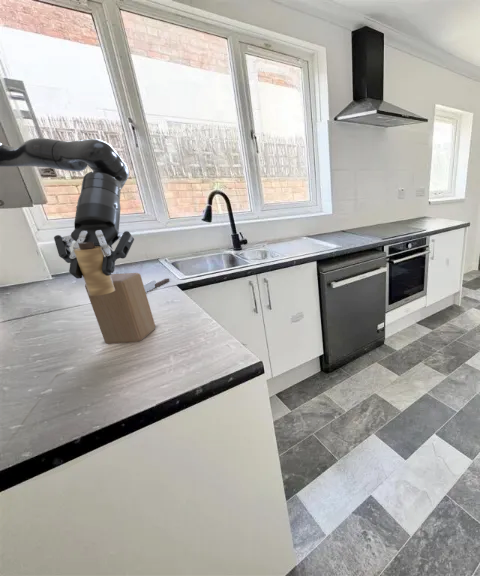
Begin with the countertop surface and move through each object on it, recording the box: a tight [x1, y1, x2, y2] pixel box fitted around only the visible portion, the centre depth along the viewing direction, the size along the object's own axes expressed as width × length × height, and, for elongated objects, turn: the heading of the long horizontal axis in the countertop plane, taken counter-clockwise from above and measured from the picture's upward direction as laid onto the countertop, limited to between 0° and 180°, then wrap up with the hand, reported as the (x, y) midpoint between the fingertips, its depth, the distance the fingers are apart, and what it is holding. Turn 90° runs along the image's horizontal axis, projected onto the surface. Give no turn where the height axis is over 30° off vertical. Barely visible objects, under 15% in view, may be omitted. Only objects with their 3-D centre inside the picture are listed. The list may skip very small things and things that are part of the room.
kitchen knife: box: [143, 278, 170, 293], centre depth 140 cm, size 4×1×30 cm
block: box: [84, 272, 156, 345], centre depth 96 cm, size 10×10×20 cm
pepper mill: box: [74, 242, 115, 296], centre depth 67 cm, size 4×4×11 cm
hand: (91, 274), depth 66 cm, fingers closed on pepper mill, 4 cm apart
